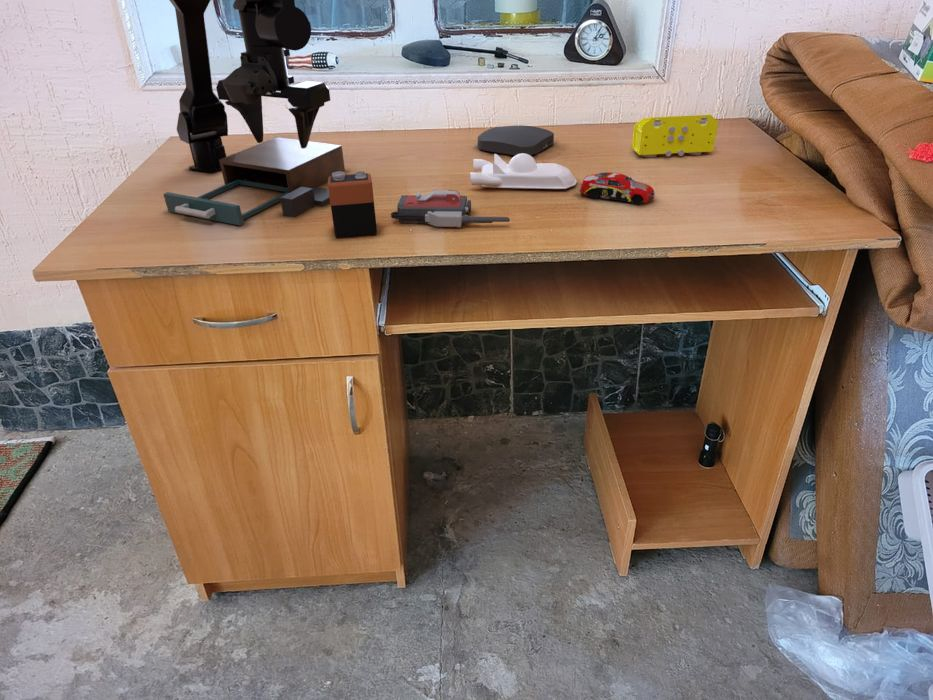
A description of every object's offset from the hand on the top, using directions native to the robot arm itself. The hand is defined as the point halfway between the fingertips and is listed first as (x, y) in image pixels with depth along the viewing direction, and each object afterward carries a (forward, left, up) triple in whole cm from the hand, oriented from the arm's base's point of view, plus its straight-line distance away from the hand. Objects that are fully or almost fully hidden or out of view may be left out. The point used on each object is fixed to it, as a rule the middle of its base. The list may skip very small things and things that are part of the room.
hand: (281, 145), depth 109 cm
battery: (+16, -4, -12) cm, 20 cm away
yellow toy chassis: (+55, +58, -12) cm, 81 cm away
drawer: (-12, -2, -11) cm, 17 cm away
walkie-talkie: (+28, +7, -12) cm, 31 cm away
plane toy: (+33, +28, -12) cm, 45 cm away
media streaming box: (+22, +51, -12) cm, 57 cm away
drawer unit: (-12, +13, -12) cm, 21 cm away
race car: (+51, +28, -12) cm, 59 cm away
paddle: (+1, +4, -12) cm, 12 cm away
